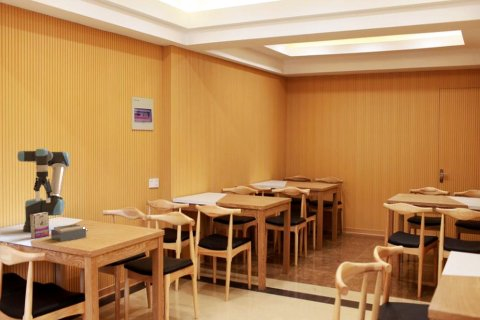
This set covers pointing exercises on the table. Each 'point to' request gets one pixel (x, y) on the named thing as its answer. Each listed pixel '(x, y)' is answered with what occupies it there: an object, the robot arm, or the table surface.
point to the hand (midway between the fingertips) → (43, 201)
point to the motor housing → (68, 232)
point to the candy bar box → (39, 225)
